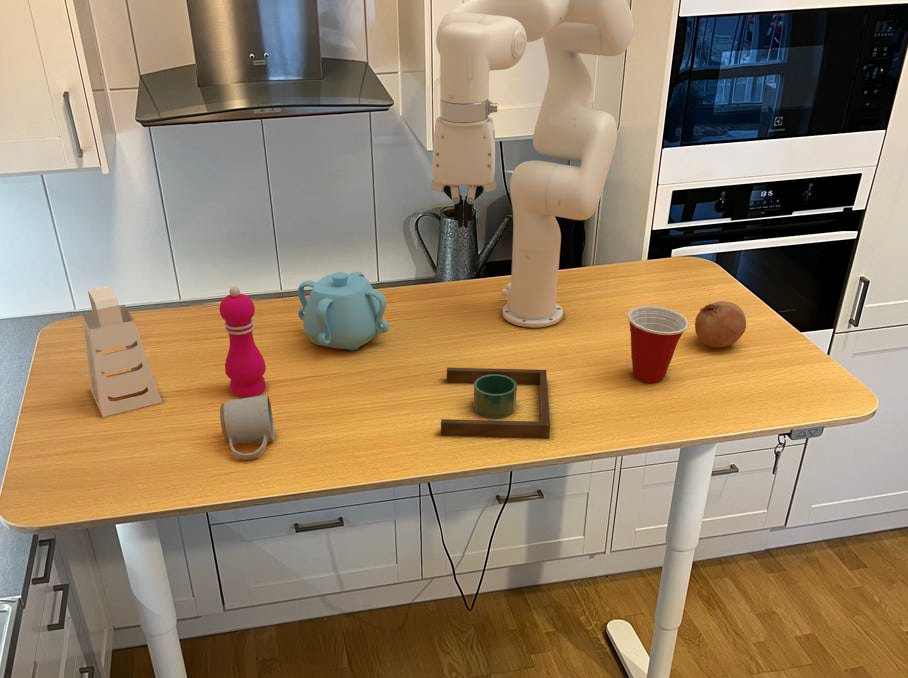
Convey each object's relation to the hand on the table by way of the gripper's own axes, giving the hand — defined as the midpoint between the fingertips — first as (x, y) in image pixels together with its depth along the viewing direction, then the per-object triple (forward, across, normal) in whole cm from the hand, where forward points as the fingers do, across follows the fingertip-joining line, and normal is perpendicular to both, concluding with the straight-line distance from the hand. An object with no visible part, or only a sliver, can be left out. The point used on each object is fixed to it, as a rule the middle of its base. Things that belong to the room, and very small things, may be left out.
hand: (463, 224), depth 156 cm
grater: (+29, +60, +10) cm, 68 cm away
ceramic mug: (+29, +34, +25) cm, 51 cm away
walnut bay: (+29, -6, +11) cm, 32 cm away
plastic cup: (+29, -35, -2) cm, 46 cm away
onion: (+29, -50, -16) cm, 60 cm away
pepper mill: (+29, +39, +6) cm, 49 cm away
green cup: (+29, -6, +11) cm, 32 cm away
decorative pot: (+29, +24, -15) cm, 41 cm away
